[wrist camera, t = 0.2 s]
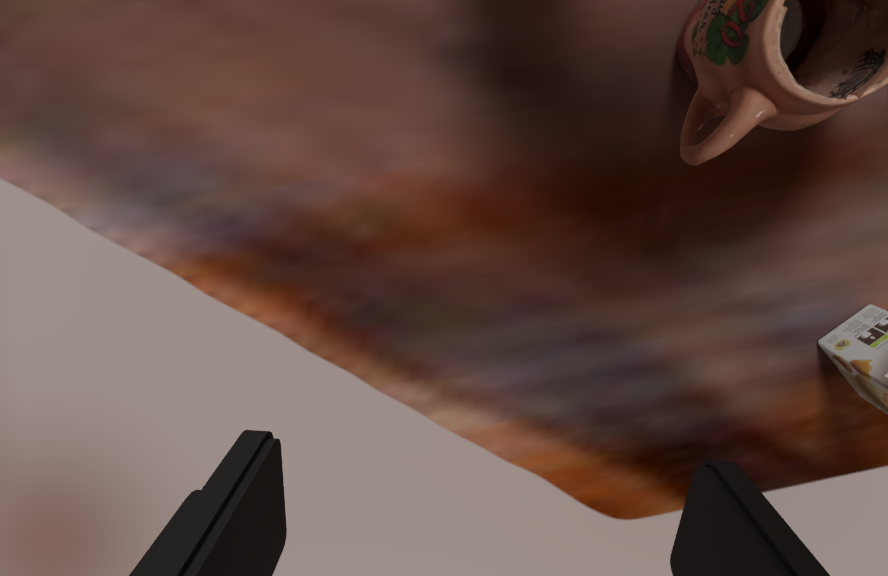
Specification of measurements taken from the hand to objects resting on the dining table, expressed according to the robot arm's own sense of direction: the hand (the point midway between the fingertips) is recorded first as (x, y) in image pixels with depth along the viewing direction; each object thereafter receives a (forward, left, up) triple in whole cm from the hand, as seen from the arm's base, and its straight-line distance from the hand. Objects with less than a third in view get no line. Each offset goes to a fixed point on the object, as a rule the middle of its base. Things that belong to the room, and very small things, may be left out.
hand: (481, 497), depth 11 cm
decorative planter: (0, +26, -37) cm, 46 cm away
